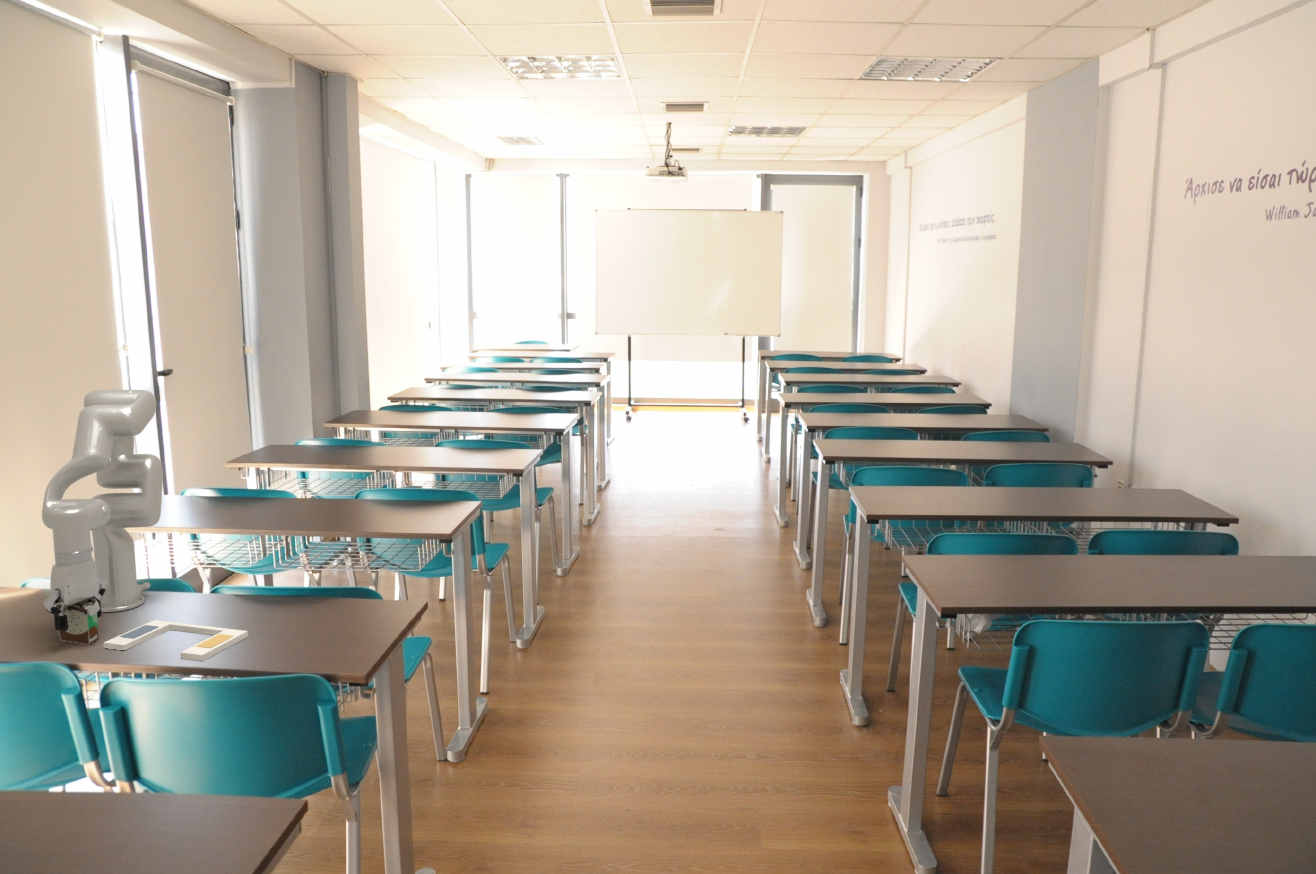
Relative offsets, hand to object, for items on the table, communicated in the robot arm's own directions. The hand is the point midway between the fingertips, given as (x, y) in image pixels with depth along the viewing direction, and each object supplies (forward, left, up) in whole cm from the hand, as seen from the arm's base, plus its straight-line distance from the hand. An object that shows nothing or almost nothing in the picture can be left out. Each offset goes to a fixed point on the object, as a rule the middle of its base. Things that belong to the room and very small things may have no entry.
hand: (78, 623), depth 217 cm
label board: (-6, +23, -5) cm, 24 cm away
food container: (-2, 0, -5) cm, 5 cm away
